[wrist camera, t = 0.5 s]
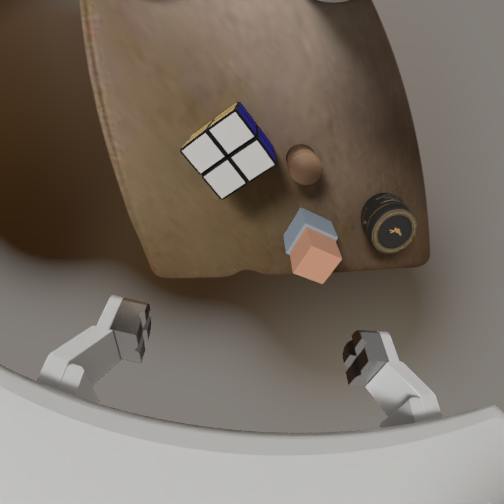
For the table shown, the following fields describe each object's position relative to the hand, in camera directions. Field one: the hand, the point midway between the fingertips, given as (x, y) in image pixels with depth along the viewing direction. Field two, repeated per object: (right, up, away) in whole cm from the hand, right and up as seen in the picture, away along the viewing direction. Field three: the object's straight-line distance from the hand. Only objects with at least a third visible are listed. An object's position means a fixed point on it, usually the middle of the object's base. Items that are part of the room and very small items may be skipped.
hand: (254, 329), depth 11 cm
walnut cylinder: (+8, +19, +38) cm, 44 cm away
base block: (+11, +8, +47) cm, 48 cm away
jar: (+26, +11, +44) cm, 52 cm away
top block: (+11, +4, +42) cm, 43 cm away
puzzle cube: (-3, +22, +37) cm, 43 cm away
